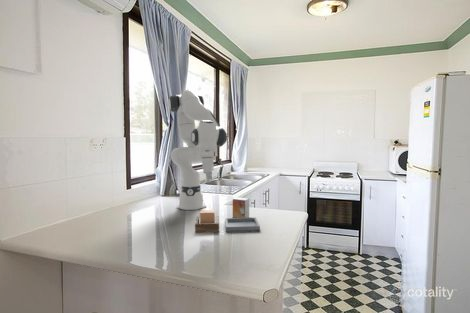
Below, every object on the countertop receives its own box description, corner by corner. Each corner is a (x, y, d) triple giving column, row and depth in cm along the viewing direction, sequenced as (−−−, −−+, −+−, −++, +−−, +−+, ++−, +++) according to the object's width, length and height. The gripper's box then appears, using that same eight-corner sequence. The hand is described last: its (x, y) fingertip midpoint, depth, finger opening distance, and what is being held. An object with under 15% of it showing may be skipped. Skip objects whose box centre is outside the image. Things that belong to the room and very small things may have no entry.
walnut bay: (197, 224, 150) (197, 216, 150) (218, 223, 150) (218, 216, 150) (195, 232, 136) (195, 224, 136) (218, 232, 137) (218, 223, 137)
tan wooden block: (200, 225, 147) (200, 210, 146) (214, 225, 147) (214, 210, 147) (200, 229, 142) (199, 212, 141) (214, 228, 142) (214, 212, 142)
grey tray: (225, 222, 152) (225, 218, 151) (255, 222, 152) (255, 217, 152) (226, 232, 137) (225, 226, 136) (259, 231, 137) (259, 226, 137)
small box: (232, 217, 162) (232, 198, 161) (237, 215, 167) (236, 197, 166) (245, 219, 158) (245, 200, 157) (249, 216, 163) (249, 198, 162)
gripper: (203, 152, 153) (204, 178, 153) (199, 153, 132) (200, 183, 133) (215, 152, 153) (216, 178, 154) (213, 153, 133) (214, 183, 133)
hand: (209, 180), depth 143 cm, fingers open, 8 cm apart
